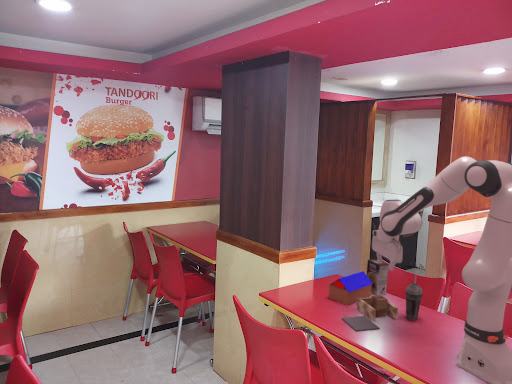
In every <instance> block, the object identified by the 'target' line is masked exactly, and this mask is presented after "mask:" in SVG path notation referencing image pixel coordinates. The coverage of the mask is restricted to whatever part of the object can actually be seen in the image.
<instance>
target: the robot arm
mask: <svg viewBox="0 0 512 384" xmlns="http://www.w3.org/2000/svg"><path fill="white" fill-rule="evenodd" d="M469 189H472V190H473V191H475V192H477V193H478V194H480V195H482V196H483V197H484V198H490V201H491V204H490V208H489V211H488V214H487V218H486V221H485V224H484V228H483V230H482V234H481V236H480V237H479V240H478V242H477V244H476V246H475V248H474V250H473V252H472V253H471V257H470V258H469V260H468V262H467V263H466V264H465V265H464V267H463V269H462V271H461V277H462V281H463V282H464V284H465V285H466V286H467V288H469V289H471V290H472V294H471V295H470V297H469V299H468V305H467V314H466V320H465V321H464V325H463V327H464V328H463V331H464V335H463V339H462V343H461V347H460V350H459V352H458V353H457V357H456V358H457V362H456V365H457V366H458V367H459V368H461V369H462V370H465V371H466V372H468V373H470V374H472V375H474V376H475V377H477V378H479V379H481V380H483V381H485V382H486V383H488V384H512V349H511V348H510V347H509V345H508V343H507V342H506V341H507V339H509V337H510V335H505V331H504V328H503V324H504V317H505V310H506V306H507V302H508V298H509V296H510V293H511V289H512V162H508V161H500V160H496V159H492V160H491V159H490V160H485V159H484V160H483V159H482V160H481V159H480V160H478V161H477V160H476V159H475V158H473V157H471V156H465V155H464V156H461V157H459V158H457V159H456V160H454V161H453V162H450V164H449V165H447V166H446V167H445V168H444V169H442V171H440V172H439V173H438V174H437V175H436V176H435V177H434V178H433V179H432V180H430V181H429V182H428V183H426V185H425V186H423V187H421V189H419V190H417V192H415V193H413V194H412V195H411V196H409V198H407V199H406V200H405V201H404V202H403V201H402V200H400V199H385V200H383V202H382V204H381V208H380V214H379V226H378V229H375V230H372V238H371V239H372V241H371V248H372V251H374V252H375V253H376V257H377V259H378V260H377V262H378V263H382V262H384V260H383V258H386V259H387V260H388V261H389V266H388V271H394V270H395V269H394V268H395V265H396V264H402V262H403V255H404V254H403V253H404V251H403V250H404V248H403V246H402V244H401V241H400V236H402V235H410V234H414V233H417V232H419V231H420V230H421V228H422V226H423V218H422V217H421V215H420V213H419V212H422V211H423V210H424V209H427V208H430V207H434V206H438V205H443V204H447V203H451V202H452V201H454V200H456V199H458V198H459V197H461V196H462V195H463V194H464V193H466V192H467V190H469ZM382 257H383V258H382Z"/></svg>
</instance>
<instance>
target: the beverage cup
mask: <svg viewBox="0 0 512 384" xmlns="http://www.w3.org/2000/svg"><path fill="white" fill-rule="evenodd" d="M414 275H415V276H414V283H411V284H408V286H406V288H405V291H404V293H405V305H406V306H405V318H406V319H408V320H410V321H417V320H418V316H419V312H420V306H421V301H422V298H423V289H422V287H421V286H420V285H419V284H417V283H416V282H417V273H415V274H414Z"/></svg>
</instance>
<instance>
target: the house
mask: <svg viewBox="0 0 512 384" xmlns="http://www.w3.org/2000/svg"><path fill="white" fill-rule="evenodd" d="M372 284H373V283H372V282H371V281H370V279H369V278H368V277H367V273H366V272H364V270H363V271H359V272H355V273H352V274H350V275H346V276H343V277H339V278H338V279H336V280H335V281H332V282H331V283H329V285H328V286H329V287H328V288H329V289H328V298H329V299H330V300H333V301H336V302H339V303H341V304H344V305H347V306H350V305H352V304H355V303H358V302H357V301H358V298H367V297H370V296H371V297H372V293H371V289H372Z"/></svg>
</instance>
